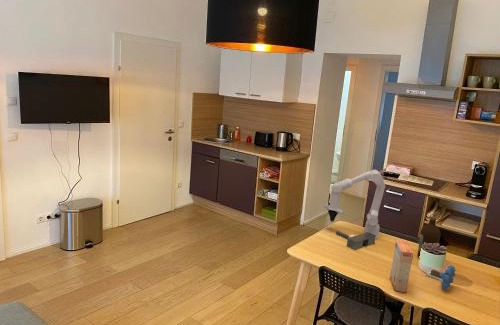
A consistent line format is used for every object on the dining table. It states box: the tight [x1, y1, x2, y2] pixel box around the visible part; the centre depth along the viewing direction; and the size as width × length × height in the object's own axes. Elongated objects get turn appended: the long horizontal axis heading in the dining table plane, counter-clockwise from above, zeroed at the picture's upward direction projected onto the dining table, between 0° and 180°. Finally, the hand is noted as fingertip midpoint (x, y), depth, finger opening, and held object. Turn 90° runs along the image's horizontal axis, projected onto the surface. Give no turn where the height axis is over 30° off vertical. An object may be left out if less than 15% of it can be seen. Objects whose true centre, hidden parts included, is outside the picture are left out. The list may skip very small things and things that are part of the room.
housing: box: [346, 232, 377, 251], centre depth 234 cm, size 20×6×5 cm, turn 128°
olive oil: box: [417, 216, 442, 259], centre depth 220 cm, size 11×11×25 cm
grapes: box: [440, 264, 457, 291], centre depth 189 cm, size 12×7×12 cm, turn 134°
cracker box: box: [389, 239, 414, 293], centre depth 187 cm, size 14×6×21 cm, turn 168°
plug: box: [335, 230, 356, 240], centre depth 243 cm, size 4×15×3 cm, turn 38°
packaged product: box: [425, 261, 452, 283], centre depth 204 cm, size 18×5×10 cm
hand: (332, 221), depth 251 cm, fingers closed
